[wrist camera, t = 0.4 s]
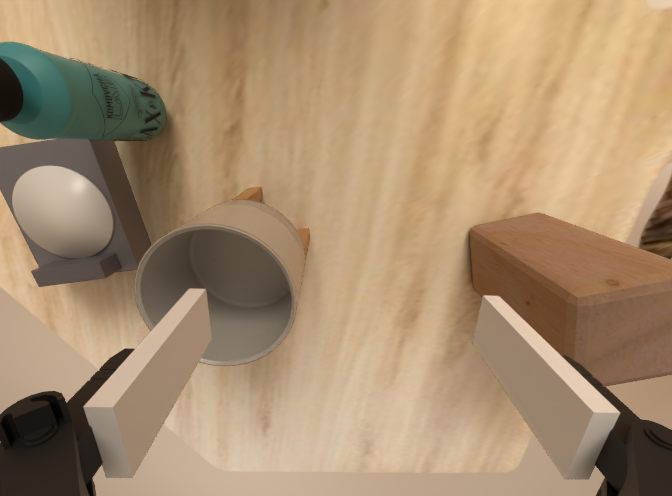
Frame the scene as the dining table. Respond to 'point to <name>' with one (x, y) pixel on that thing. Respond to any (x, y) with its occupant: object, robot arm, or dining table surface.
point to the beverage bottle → (73, 99)
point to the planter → (229, 276)
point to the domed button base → (73, 208)
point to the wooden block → (581, 293)
